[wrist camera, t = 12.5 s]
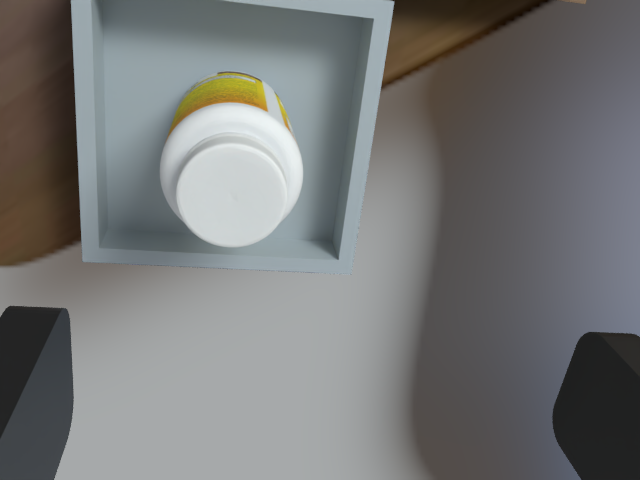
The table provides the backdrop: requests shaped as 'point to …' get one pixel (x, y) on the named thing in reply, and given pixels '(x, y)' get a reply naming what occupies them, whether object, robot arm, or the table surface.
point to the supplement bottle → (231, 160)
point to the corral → (576, 0)
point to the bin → (185, 70)
